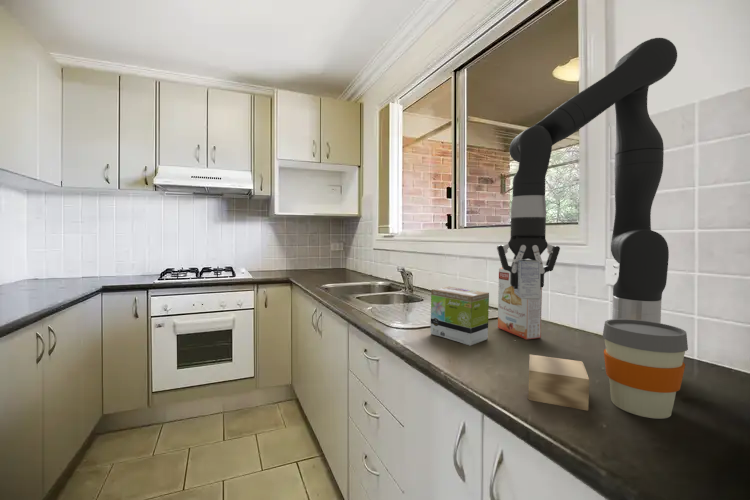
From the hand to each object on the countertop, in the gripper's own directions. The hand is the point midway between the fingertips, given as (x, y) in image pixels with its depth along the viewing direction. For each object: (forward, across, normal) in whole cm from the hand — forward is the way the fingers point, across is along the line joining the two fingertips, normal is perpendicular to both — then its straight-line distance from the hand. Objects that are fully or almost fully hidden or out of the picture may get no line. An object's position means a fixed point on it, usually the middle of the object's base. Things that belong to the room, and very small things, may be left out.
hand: (526, 288), depth 83 cm
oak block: (+19, -3, +13) cm, 24 cm away
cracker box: (+19, -4, -32) cm, 38 cm away
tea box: (+19, +15, -23) cm, 33 cm away
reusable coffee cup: (+20, -17, +15) cm, 30 cm away
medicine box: (+2, 0, 0) cm, 2 cm away
